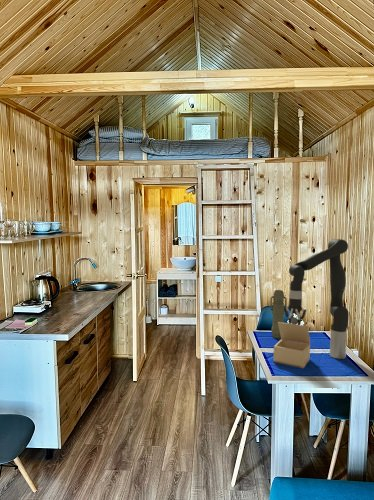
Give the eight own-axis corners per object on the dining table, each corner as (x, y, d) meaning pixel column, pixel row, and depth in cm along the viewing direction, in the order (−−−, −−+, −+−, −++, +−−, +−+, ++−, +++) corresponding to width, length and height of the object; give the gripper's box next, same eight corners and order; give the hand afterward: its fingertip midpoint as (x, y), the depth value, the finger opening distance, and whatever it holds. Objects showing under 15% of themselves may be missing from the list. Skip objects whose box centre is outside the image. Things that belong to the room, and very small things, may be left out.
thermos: (287, 338, 270) (288, 291, 268) (271, 338, 270) (272, 291, 267) (283, 334, 279) (285, 289, 277) (268, 334, 279) (269, 289, 276)
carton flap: (310, 343, 227) (312, 335, 232) (307, 326, 218) (309, 317, 223) (281, 339, 236) (284, 330, 241) (277, 322, 227) (280, 314, 232)
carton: (309, 359, 228) (310, 344, 227) (303, 368, 214) (304, 351, 213) (280, 354, 237) (281, 339, 236) (273, 362, 223) (273, 346, 223)
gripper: (308, 297, 226) (307, 325, 227) (285, 295, 234) (284, 321, 234) (306, 299, 220) (304, 327, 221) (282, 297, 227) (281, 324, 228)
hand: (294, 324), depth 228 cm, fingers closed on carton flap, 4 cm apart
